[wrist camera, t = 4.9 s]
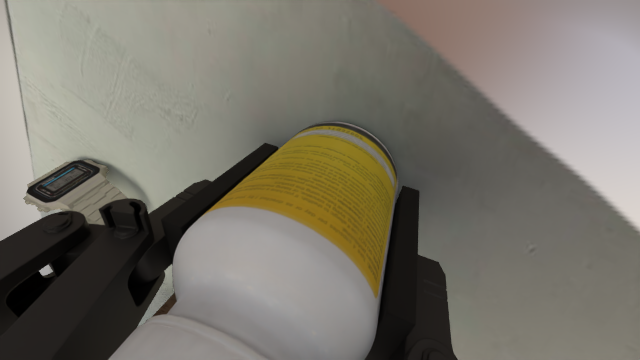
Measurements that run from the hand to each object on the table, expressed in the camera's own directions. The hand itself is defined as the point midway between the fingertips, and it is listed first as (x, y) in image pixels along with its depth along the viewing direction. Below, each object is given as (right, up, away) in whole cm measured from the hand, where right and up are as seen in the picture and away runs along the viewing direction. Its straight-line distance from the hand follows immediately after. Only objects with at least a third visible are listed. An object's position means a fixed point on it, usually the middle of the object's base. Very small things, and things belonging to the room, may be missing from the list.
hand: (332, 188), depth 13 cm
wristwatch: (-19, -1, +10) cm, 22 cm away
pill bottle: (+1, +1, +1) cm, 2 cm away
